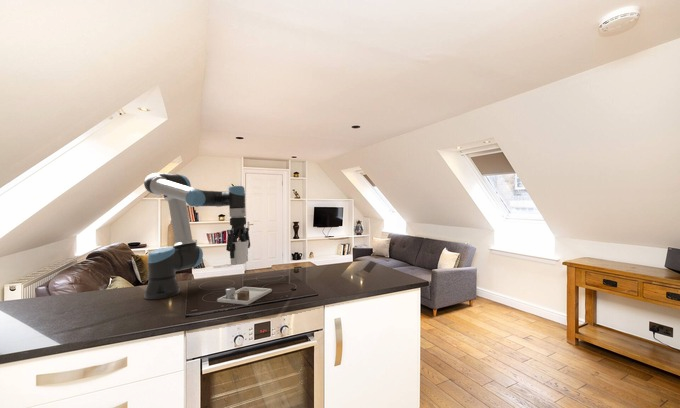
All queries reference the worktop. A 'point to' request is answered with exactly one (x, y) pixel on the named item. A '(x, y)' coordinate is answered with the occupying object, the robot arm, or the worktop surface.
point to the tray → (253, 295)
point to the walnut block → (243, 295)
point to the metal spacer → (230, 293)
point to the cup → (241, 251)
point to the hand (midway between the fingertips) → (239, 263)
